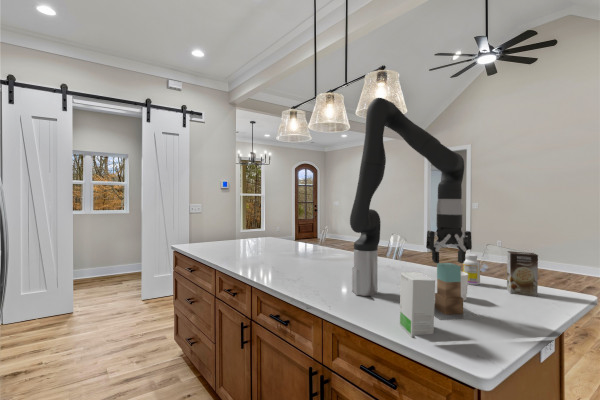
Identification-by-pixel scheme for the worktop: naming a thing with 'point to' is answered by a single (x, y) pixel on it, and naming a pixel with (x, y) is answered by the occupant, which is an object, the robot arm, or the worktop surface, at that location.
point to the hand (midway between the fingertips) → (448, 262)
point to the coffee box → (522, 273)
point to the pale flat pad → (456, 315)
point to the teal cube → (449, 272)
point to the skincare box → (417, 303)
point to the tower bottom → (448, 305)
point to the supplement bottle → (472, 269)
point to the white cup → (464, 284)
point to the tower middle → (449, 289)
